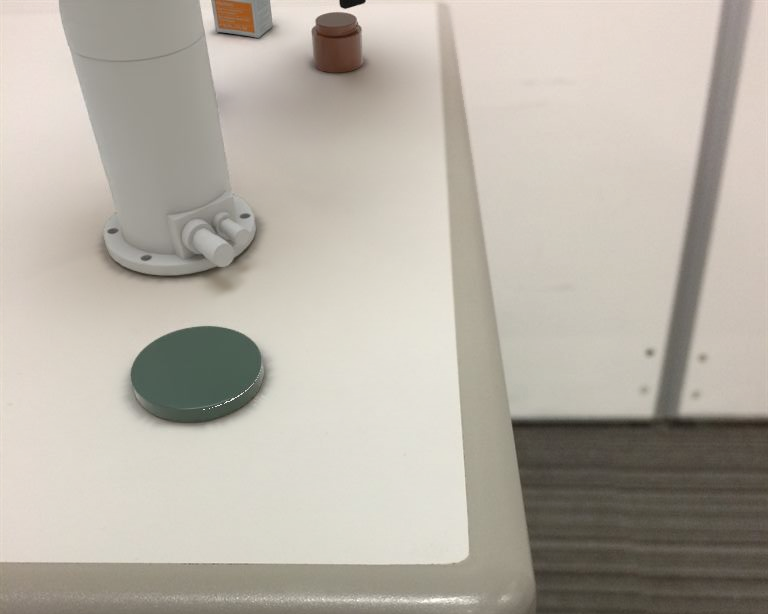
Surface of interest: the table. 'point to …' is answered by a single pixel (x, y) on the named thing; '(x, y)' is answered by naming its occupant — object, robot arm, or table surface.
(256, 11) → the cosmetic box
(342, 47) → the jar
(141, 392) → the coaster
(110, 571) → the table surface
